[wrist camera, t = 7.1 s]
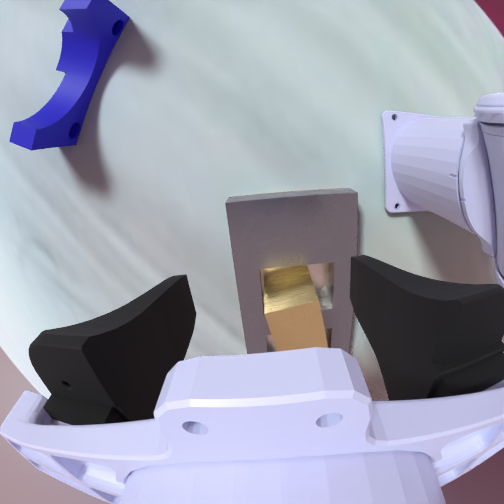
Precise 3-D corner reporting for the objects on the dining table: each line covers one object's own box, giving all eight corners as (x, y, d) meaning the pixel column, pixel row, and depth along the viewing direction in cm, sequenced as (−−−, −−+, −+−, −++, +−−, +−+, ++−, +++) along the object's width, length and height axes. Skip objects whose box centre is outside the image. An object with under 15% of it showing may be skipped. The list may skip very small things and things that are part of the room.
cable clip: (93, 15, 14) (56, -6, 9) (130, 18, 15) (97, -9, 9) (44, 133, 19) (0, 137, 13) (77, 144, 19) (31, 150, 14)
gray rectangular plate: (348, 187, 20) (357, 192, 18) (338, 378, 27) (342, 392, 25) (228, 197, 20) (225, 202, 19) (255, 387, 28) (255, 401, 26)
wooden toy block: (306, 264, 22) (319, 300, 17) (322, 339, 25) (333, 381, 20) (263, 275, 22) (264, 313, 17) (286, 348, 25) (290, 391, 20)
